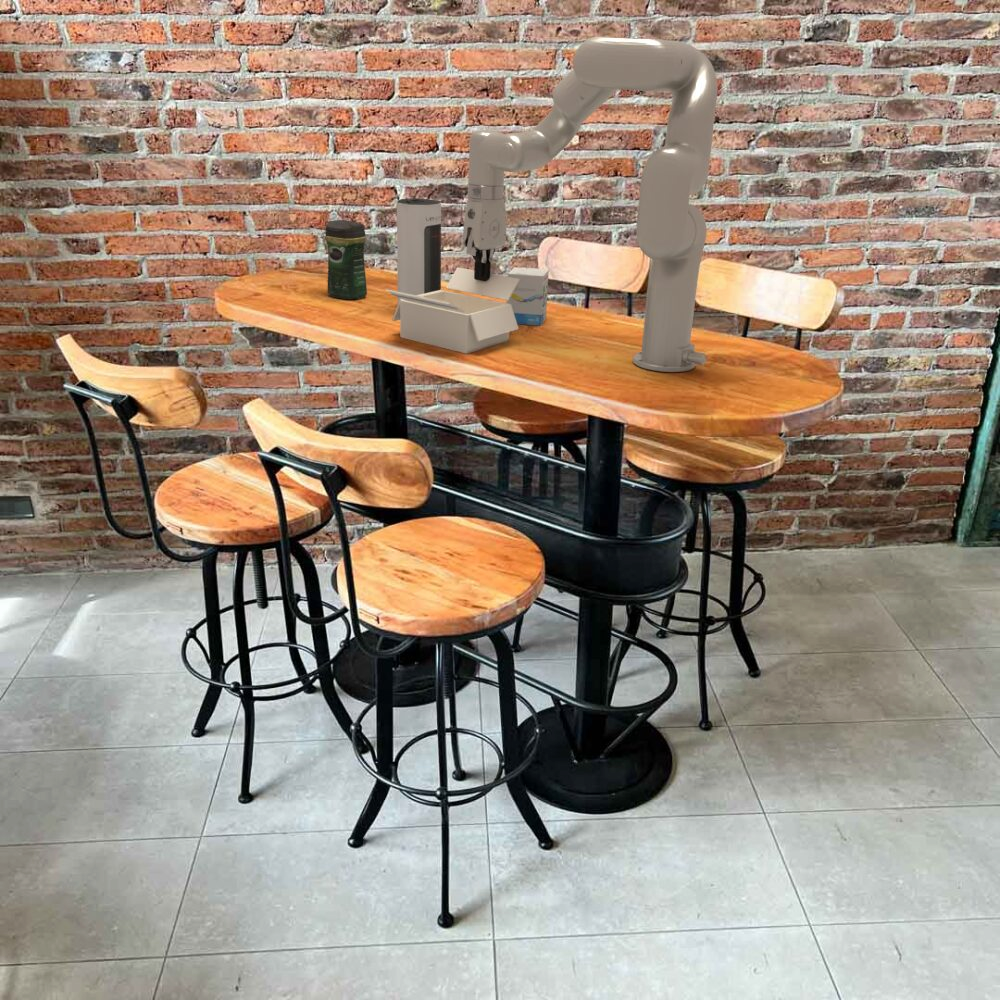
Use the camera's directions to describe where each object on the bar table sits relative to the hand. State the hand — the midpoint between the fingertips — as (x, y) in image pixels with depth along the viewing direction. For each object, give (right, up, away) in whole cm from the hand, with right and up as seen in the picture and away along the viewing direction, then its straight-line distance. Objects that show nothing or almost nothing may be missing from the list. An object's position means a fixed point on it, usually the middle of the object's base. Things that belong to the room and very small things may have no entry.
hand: (482, 279), depth 214 cm
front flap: (-10, -8, -11) cm, 17 cm away
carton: (-6, -13, -2) cm, 15 cm away
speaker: (-15, -4, +19) cm, 25 cm away
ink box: (+10, -6, +15) cm, 20 cm away
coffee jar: (-35, +3, +32) cm, 47 cm away
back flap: (-1, -3, -1) cm, 4 cm away
